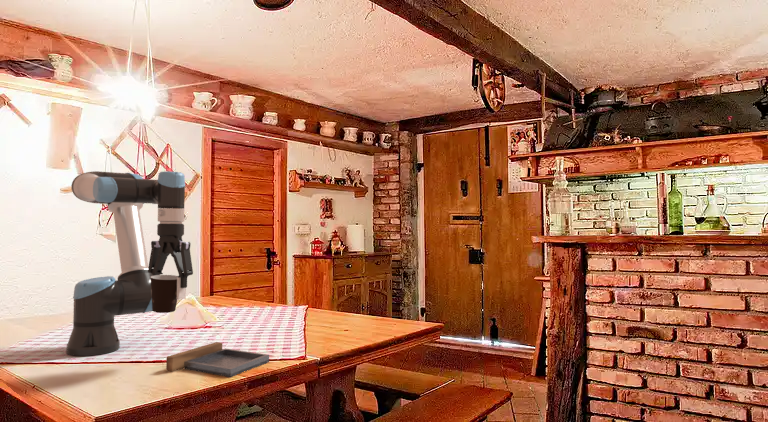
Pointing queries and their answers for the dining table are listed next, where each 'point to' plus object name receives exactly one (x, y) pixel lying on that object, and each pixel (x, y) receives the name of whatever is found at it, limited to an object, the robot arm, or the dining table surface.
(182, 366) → the brown long thin block
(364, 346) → the dining table surface
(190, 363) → the tray
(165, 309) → the coffee mug
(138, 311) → the robot arm
